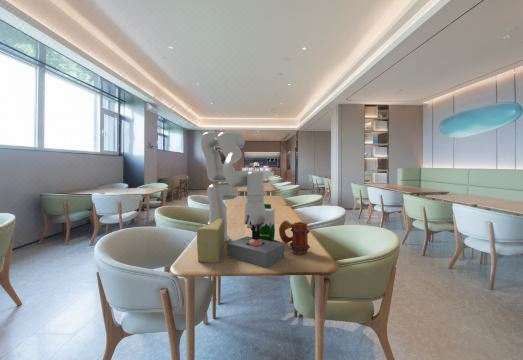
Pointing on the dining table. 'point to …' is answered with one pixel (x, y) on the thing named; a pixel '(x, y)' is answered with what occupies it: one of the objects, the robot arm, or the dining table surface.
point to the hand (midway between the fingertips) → (255, 239)
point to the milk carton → (268, 224)
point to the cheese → (210, 241)
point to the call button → (255, 242)
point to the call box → (256, 251)
